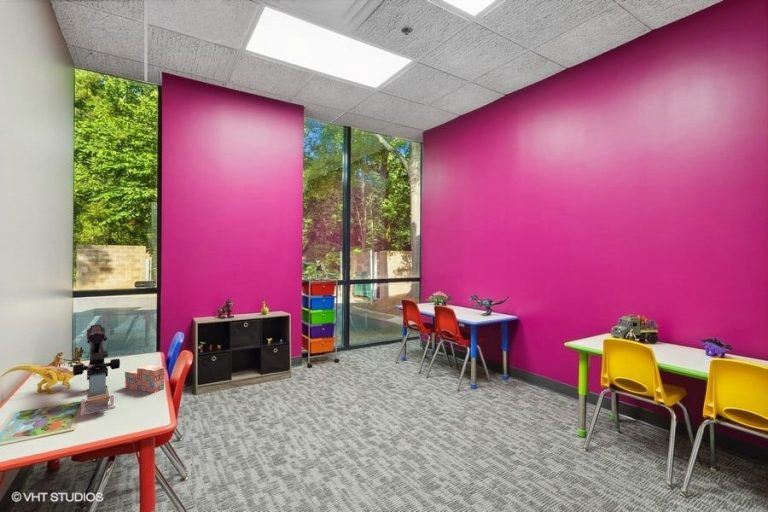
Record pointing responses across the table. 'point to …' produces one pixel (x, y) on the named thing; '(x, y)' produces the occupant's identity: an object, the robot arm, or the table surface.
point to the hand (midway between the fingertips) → (97, 381)
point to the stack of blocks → (145, 378)
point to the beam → (97, 401)
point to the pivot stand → (86, 411)
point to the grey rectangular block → (97, 384)
